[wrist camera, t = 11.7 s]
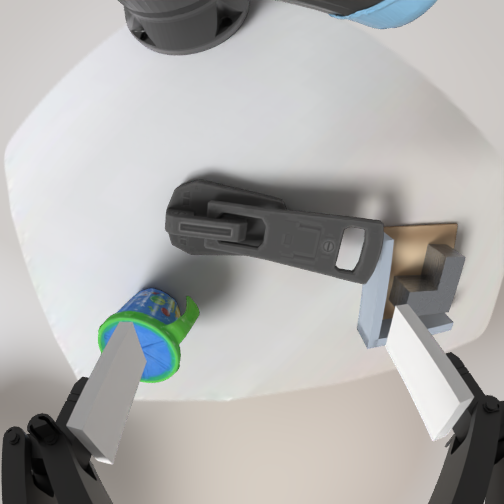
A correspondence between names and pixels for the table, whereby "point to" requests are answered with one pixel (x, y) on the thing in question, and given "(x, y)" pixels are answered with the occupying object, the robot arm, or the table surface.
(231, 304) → the table surface
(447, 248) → the angle bracket
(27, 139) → the table surface
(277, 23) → the table surface
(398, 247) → the cork mat
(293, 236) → the zipper pull
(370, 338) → the corner walls
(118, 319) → the snack cup
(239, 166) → the table surface
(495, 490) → the robot arm
